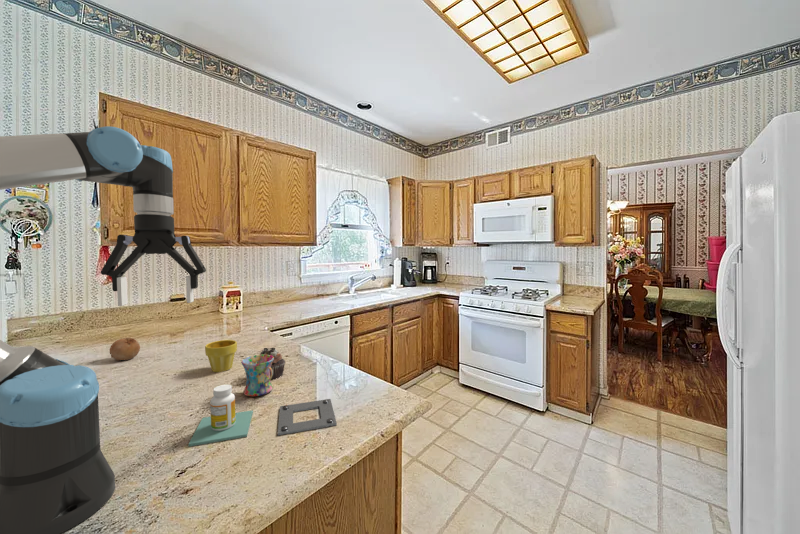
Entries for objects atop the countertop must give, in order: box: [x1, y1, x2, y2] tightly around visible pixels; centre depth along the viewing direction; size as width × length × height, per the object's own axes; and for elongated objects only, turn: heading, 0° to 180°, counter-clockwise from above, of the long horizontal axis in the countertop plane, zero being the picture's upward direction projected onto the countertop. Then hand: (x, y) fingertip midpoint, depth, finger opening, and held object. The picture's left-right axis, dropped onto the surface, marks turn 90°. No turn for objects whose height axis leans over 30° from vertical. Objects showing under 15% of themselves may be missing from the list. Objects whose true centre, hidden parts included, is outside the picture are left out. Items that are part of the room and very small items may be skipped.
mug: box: [240, 354, 274, 397], centre depth 98 cm, size 12×9×11 cm
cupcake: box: [259, 347, 286, 381], centre depth 111 cm, size 10×10×10 cm
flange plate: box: [277, 398, 337, 437], centre depth 84 cm, size 14×14×1 cm
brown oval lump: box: [109, 337, 141, 362], centre depth 129 cm, size 10×9×10 cm
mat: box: [188, 409, 254, 447], centre depth 79 cm, size 12×12×1 cm
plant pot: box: [204, 339, 238, 373], centre depth 118 cm, size 10×10×10 cm
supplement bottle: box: [209, 384, 236, 431], centre depth 78 cm, size 5×5×10 cm
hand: (157, 303), depth 75 cm, fingers open, 13 cm apart
